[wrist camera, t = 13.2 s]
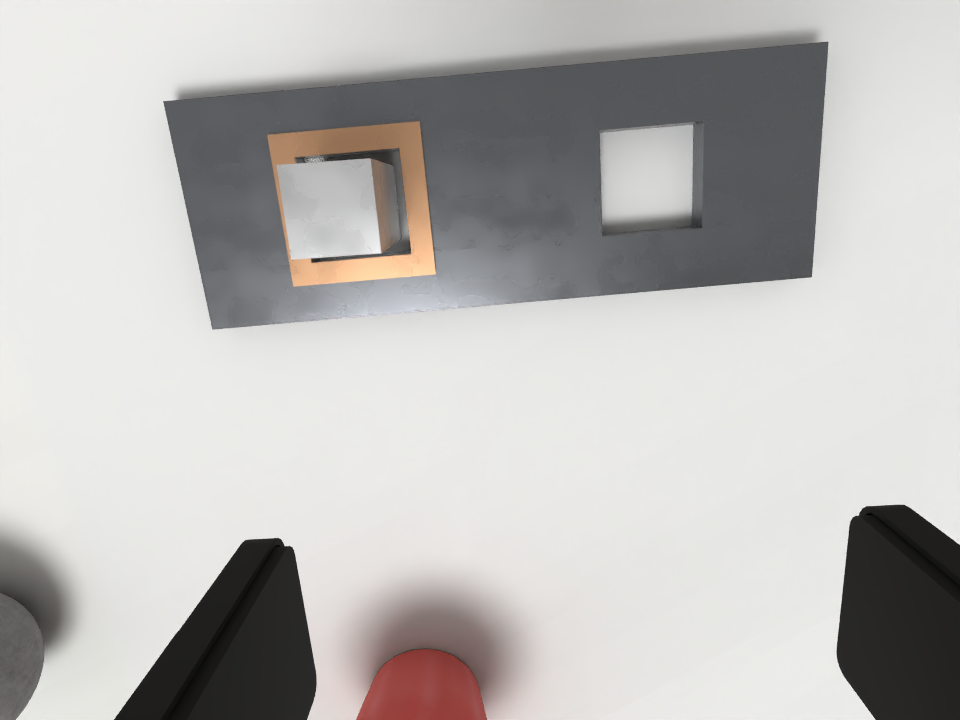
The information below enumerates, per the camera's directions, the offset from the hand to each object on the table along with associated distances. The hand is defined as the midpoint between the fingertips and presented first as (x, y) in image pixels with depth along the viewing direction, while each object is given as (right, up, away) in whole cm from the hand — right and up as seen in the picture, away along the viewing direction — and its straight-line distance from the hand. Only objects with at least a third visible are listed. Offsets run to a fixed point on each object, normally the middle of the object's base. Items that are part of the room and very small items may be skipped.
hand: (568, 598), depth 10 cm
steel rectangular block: (-8, +13, +23) cm, 28 cm away
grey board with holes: (0, +13, +23) cm, 27 cm away
